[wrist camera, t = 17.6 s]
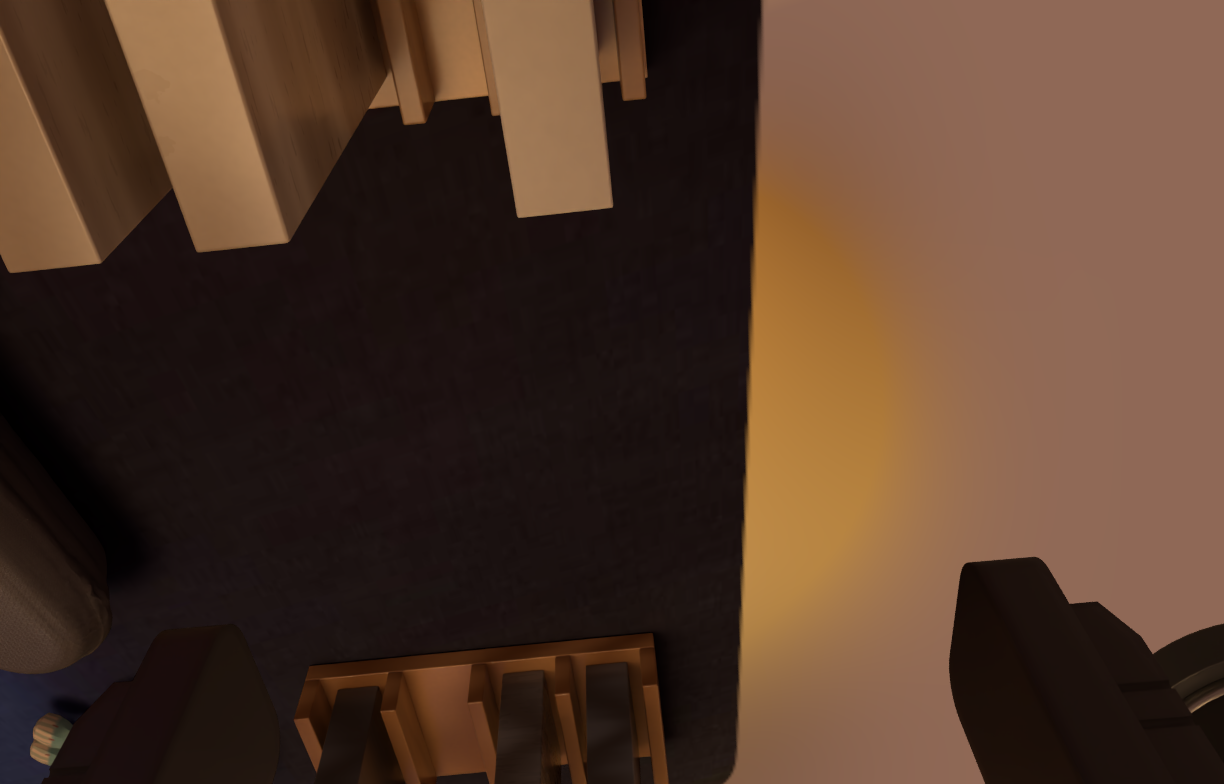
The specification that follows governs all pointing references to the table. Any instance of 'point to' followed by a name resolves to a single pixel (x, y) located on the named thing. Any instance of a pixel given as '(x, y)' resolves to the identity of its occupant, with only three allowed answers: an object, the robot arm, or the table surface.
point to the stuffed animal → (49, 737)
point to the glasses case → (45, 569)
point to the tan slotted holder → (222, 107)
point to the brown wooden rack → (489, 715)
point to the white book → (550, 103)
